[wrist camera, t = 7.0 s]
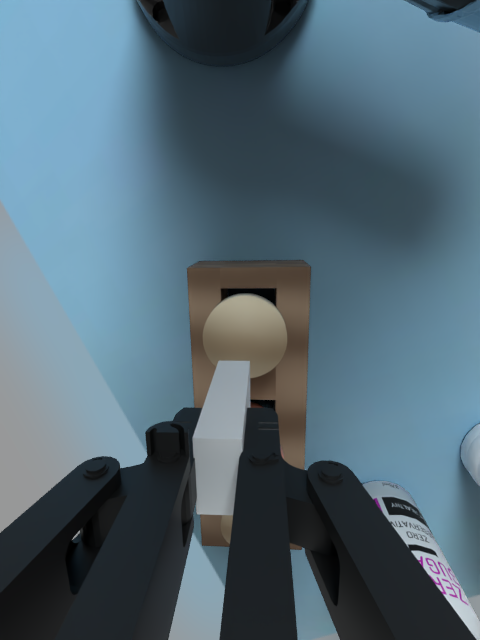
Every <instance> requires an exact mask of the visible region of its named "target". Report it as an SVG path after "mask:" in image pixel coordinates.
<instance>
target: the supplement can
mask: <svg viewBox="0 0 480 640" xmlns="http://www.w3.org/2000/svg"><path fill="white" fill-rule="evenodd" d="M362 485H363V486H364V488H365V489H366V491H367V492H368V493H369V495H370V496H371V497H372V499H373V500H374V501H375V503H376V504H377V505H378V507H379V508H380V510H381V511H382V512H383V514H384V515H385V516H386V518H387V519H388V520H389V522H390V523H391V524H392V526H393V527H394V528H395V530H396V531H397V533H398V534H399V535H400V537H401V538H402V539H403V541H404V542H405V543H406V545H407V546H408V547H409V549H410V550H411V552H412V553H413V554H414V556H415V557H416V558H417V560H418V561H419V562H420V564H421V565H422V566H423V568H424V569H425V570H426V572H427V573H428V575H429V576H430V577H431V579H432V580H433V581H434V583H435V584H436V585H437V587H438V588H439V589H440V591H441V592H442V593H443V595H444V596H445V598H446V599H447V600H448V602H449V603H450V604H451V606H452V607H453V608H454V610H455V611H456V612H457V614H458V615H459V617H460V618H461V619H462V621H463V622H464V623H465V625H466V626H467V627H468V629H469V630H470V631H471V633H472V634H473V635H474V637H475V638H476V640H480V620H479V619H478V617H477V615H476V613H475V611H474V610H473V608H472V606H471V604H470V602H469V600H468V598H467V597H466V595H465V593H464V591H463V589H462V587H461V586H460V584H459V582H458V580H457V578H456V576H455V575H454V573H453V571H452V569H451V567H450V565H449V564H448V562H447V560H446V558H445V556H444V554H443V553H442V551H441V549H440V547H439V545H438V543H437V542H436V540H435V538H434V536H433V534H432V532H431V531H430V529H429V527H428V525H427V523H426V521H425V520H424V518H423V516H422V514H421V512H420V510H419V509H418V507H417V505H416V503H415V501H414V500H413V498H412V497H411V495H410V494H409V492H408V491H406V490H405V489H404V488H402V487H401V486H399V485H397V484H394V483H391V482H387V481H371V482H368V483H364V484H362Z"/></svg>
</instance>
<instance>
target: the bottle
mask: <svg viewBox="0 0 480 640" xmlns="http://www.w3.org/2000/svg"><path fill="white" fill-rule="evenodd" d="M461 459H462V462H463V464H464V467H465V468H466V469H467V470H468V472H469V473H470V475H471V477H472V478H473V479H474V480H475V482H476V483H477V484H478V485H479V486H480V423H479V424H477V425H476V426H474V428H473V429H472V430H471V431H470V432H469V433H468V434H467V435H466V436H465V439H464V441H463V443H462V445H461Z"/></svg>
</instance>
